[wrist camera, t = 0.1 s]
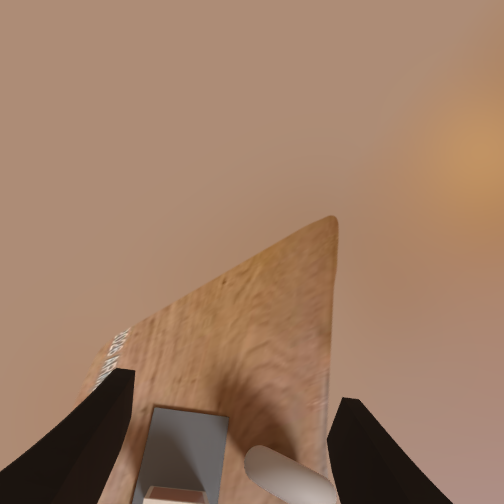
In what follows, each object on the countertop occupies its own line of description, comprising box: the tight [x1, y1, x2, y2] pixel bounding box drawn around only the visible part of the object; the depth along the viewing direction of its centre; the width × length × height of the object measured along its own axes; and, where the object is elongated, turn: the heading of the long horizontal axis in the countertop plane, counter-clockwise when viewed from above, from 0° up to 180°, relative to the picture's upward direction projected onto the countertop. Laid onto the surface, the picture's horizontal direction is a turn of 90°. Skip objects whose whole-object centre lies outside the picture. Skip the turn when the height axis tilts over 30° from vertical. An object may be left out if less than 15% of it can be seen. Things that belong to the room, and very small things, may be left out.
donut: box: [244, 445, 337, 504], centre depth 33 cm, size 10×4×10 cm, turn 66°
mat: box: [132, 408, 229, 504], centre depth 35 cm, size 13×9×1 cm
